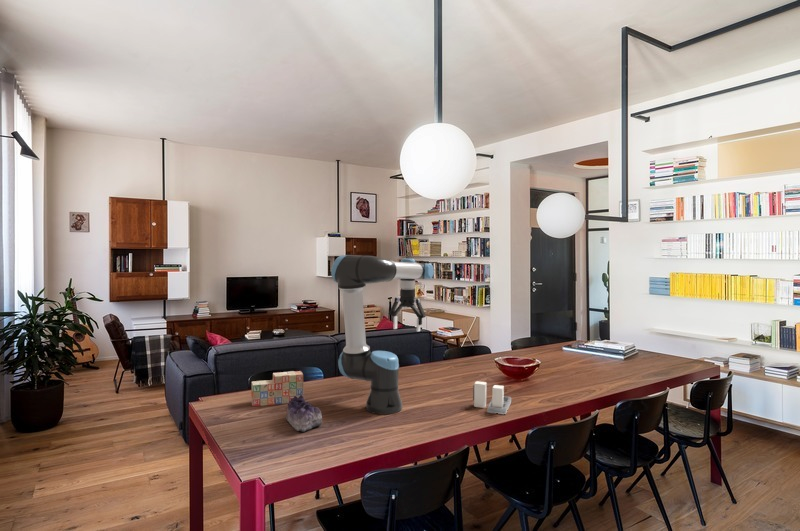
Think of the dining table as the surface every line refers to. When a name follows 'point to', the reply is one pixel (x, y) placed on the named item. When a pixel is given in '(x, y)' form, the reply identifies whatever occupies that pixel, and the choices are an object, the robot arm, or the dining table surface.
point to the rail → (497, 409)
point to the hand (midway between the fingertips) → (406, 330)
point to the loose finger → (479, 394)
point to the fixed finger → (498, 396)
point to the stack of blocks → (277, 389)
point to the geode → (303, 414)
